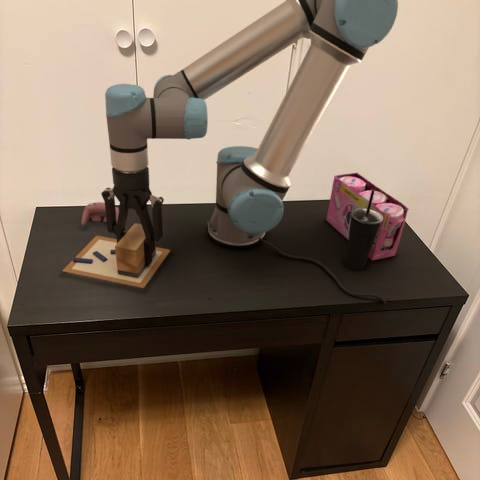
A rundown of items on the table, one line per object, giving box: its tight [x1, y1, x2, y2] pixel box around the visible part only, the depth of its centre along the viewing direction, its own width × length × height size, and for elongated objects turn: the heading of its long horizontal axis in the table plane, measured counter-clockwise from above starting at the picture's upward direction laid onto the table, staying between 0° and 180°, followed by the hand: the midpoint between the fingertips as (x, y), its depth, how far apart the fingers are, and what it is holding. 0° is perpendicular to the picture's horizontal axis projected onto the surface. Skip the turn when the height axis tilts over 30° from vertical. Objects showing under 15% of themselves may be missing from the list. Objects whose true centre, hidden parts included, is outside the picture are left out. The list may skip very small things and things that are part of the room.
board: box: [61, 235, 171, 289], centre depth 122 cm, size 20×17×1 cm
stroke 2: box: [93, 251, 107, 262], centre depth 121 cm, size 4×1×1 cm, turn 45°
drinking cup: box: [345, 190, 383, 271], centre depth 122 cm, size 8×8×20 cm
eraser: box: [115, 222, 157, 278], centre depth 118 cm, size 5×11×8 cm, turn 165°
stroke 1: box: [72, 257, 93, 264], centre depth 119 cm, size 4×1×1 cm, turn 86°
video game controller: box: [80, 201, 119, 226], centre depth 134 cm, size 10×5×7 cm, turn 84°
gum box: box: [325, 172, 410, 261], centre depth 134 cm, size 24×8×14 cm, turn 24°
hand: (137, 261), depth 120 cm, fingers closed on eraser, 5 cm apart
